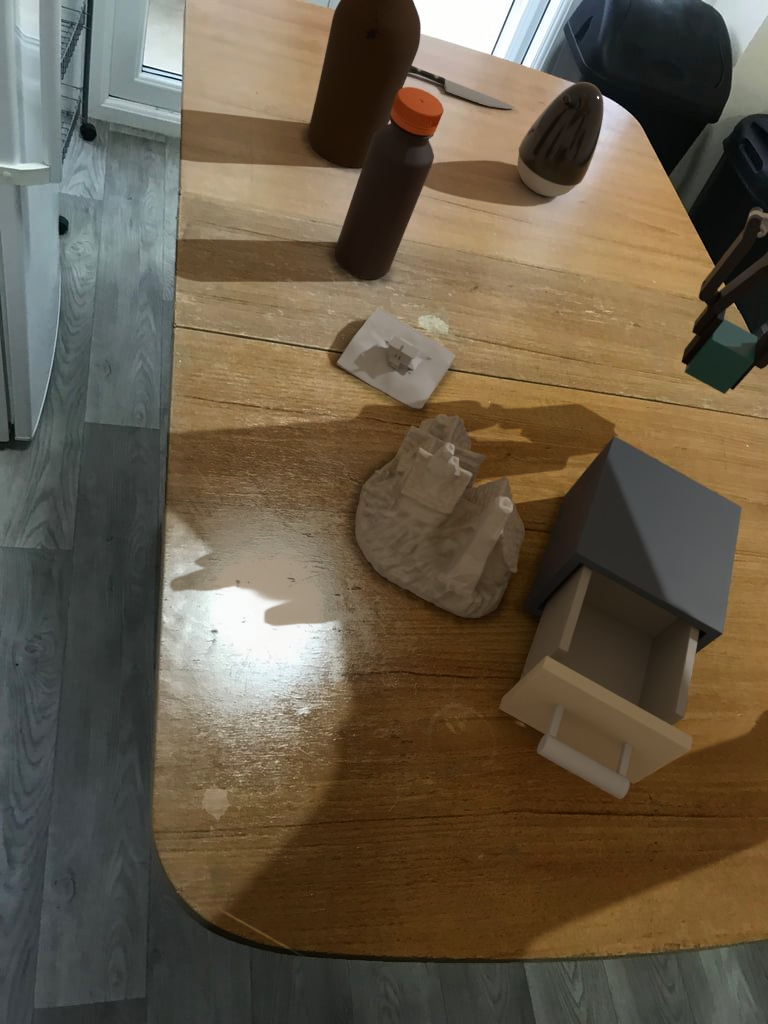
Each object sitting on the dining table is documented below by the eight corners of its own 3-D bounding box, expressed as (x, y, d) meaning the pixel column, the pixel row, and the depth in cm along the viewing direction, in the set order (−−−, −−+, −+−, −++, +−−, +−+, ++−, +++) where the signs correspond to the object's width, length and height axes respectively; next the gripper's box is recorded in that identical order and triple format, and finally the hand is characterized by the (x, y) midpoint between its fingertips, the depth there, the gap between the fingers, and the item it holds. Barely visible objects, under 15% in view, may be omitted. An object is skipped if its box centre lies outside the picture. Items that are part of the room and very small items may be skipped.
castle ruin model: (479, 641, 72) (559, 535, 62) (320, 539, 74) (371, 419, 63) (536, 534, 83) (613, 428, 72) (396, 447, 85) (451, 332, 74)
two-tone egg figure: (493, 169, 121) (541, 66, 109) (536, 158, 127) (586, 59, 115) (542, 213, 118) (597, 113, 106) (583, 200, 124) (640, 103, 112)
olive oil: (389, 174, 111) (462, -25, 92) (314, 167, 106) (374, -44, 87) (365, 126, 116) (429, -72, 97) (293, 118, 112) (345, -92, 92)
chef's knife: (515, 119, 132) (515, 108, 134) (518, 113, 131) (518, 102, 133) (401, 78, 128) (402, 67, 129) (403, 71, 127) (404, 60, 128)
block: (729, 369, 95) (758, 336, 91) (724, 394, 91) (753, 362, 88) (690, 348, 95) (717, 314, 91) (684, 372, 91) (711, 339, 88)
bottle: (345, 234, 100) (400, 72, 85) (396, 259, 101) (460, 103, 85) (325, 262, 96) (379, 97, 81) (378, 289, 96) (442, 130, 81)
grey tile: (331, 378, 85) (341, 351, 83) (353, 311, 93) (363, 285, 90) (440, 419, 87) (454, 394, 84) (453, 350, 94) (466, 325, 91)
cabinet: (656, 683, 76) (723, 634, 69) (523, 609, 76) (576, 551, 69) (681, 561, 86) (742, 506, 79) (564, 495, 86) (614, 435, 79)
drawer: (623, 833, 65) (682, 803, 59) (482, 754, 65) (526, 716, 59) (662, 646, 78) (714, 605, 72) (543, 580, 78) (585, 533, 72)
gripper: (771, 154, 73) (630, 348, 91) (955, 253, 73) (778, 428, 90) (777, 123, 78) (642, 313, 95) (950, 215, 77) (782, 389, 95)
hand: (708, 369), depth 93 cm, fingers closed on block, 5 cm apart
